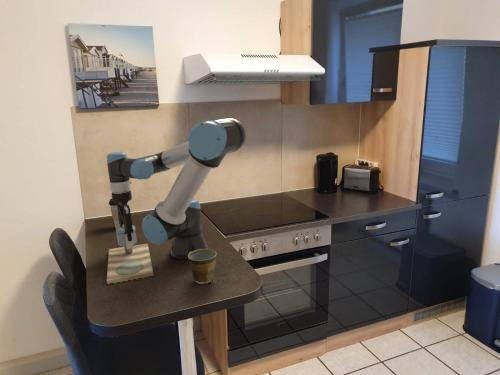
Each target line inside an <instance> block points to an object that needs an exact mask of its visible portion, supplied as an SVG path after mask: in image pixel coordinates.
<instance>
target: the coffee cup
mask: <svg viewBox="0 0 500 375" xmlns="http://www.w3.org/2000/svg"><path fill="white" fill-rule="evenodd" d="M129 202H130V201H128V202H127V204H128V203H129ZM108 205H109V206H110V212H111V217H112V220H113V223H114V227H115V230H116V229H117V228H118V227H120V224H119V220H118V210H117V204H116V203H115V202H113V201H112V198H110V199H109V201H108Z"/></svg>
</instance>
